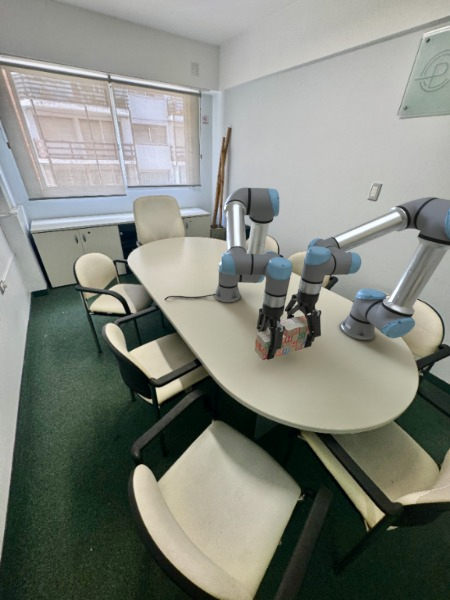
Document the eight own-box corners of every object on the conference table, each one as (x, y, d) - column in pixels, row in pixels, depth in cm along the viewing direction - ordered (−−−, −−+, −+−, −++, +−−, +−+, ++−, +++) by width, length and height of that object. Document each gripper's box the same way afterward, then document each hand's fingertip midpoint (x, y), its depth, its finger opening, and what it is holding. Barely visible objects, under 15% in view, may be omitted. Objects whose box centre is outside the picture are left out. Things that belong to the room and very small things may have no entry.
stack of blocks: (262, 361, 91) (266, 335, 85) (254, 350, 96) (257, 325, 90) (307, 348, 99) (314, 323, 93) (297, 338, 104) (303, 315, 98)
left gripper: (300, 315, 77) (288, 367, 89) (268, 288, 92) (261, 335, 104) (280, 320, 74) (270, 372, 86) (251, 291, 89) (245, 339, 101)
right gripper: (342, 305, 79) (325, 354, 90) (296, 275, 97) (287, 319, 109) (324, 309, 76) (309, 359, 87) (281, 277, 95) (273, 322, 106)
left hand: (265, 352), depth 95 cm, fingers closed on stack of blocks, 6 cm apart
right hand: (297, 337), depth 98 cm, fingers open, 11 cm apart
